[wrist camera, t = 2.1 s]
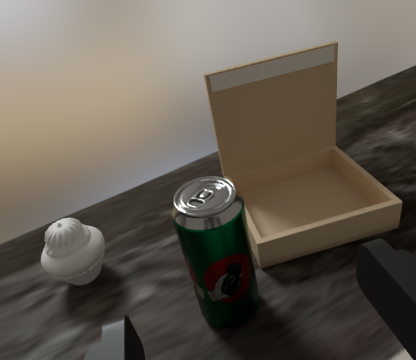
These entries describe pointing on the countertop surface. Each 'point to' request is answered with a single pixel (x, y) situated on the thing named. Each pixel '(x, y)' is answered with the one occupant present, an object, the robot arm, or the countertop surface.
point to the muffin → (73, 251)
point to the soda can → (217, 249)
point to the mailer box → (293, 157)
